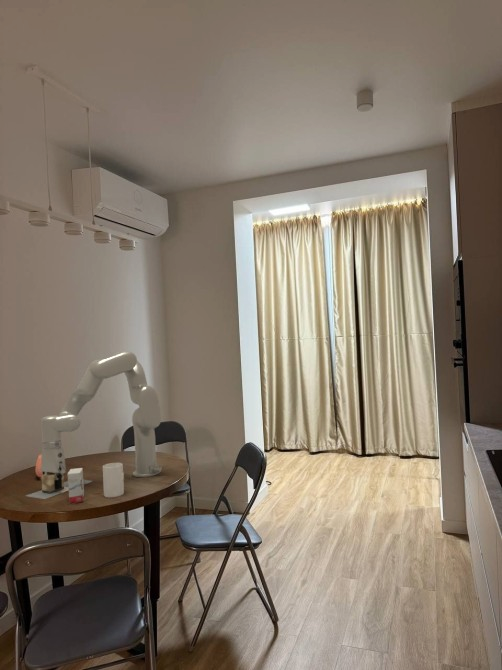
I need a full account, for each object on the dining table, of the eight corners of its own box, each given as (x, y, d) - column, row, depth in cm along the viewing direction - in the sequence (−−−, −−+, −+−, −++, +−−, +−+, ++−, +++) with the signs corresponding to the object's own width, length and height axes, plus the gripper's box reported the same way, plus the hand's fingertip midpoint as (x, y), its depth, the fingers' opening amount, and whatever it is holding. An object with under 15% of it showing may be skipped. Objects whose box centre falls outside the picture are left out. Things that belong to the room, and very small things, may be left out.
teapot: (36, 473, 236) (35, 449, 236) (62, 470, 240) (61, 446, 240) (34, 484, 217) (33, 457, 217) (62, 480, 222) (61, 454, 222)
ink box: (82, 502, 187) (80, 472, 187) (68, 504, 186) (67, 474, 186) (84, 496, 195) (83, 467, 196) (71, 497, 194) (70, 468, 194)
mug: (119, 487, 205) (118, 459, 205) (126, 494, 194) (125, 465, 194) (100, 491, 201) (98, 462, 201) (106, 498, 190) (104, 468, 190)
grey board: (93, 483, 214) (93, 480, 214) (44, 501, 191) (44, 499, 191) (74, 480, 219) (74, 478, 219) (24, 498, 196) (24, 495, 196)
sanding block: (64, 488, 204) (63, 472, 204) (50, 493, 197) (49, 476, 198) (56, 487, 206) (55, 471, 206) (42, 492, 200) (41, 475, 200)
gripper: (73, 444, 202) (74, 487, 201) (45, 442, 210) (47, 483, 209) (58, 448, 195) (60, 492, 195) (30, 445, 203) (32, 488, 203)
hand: (53, 487), depth 202 cm, fingers closed on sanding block, 5 cm apart
